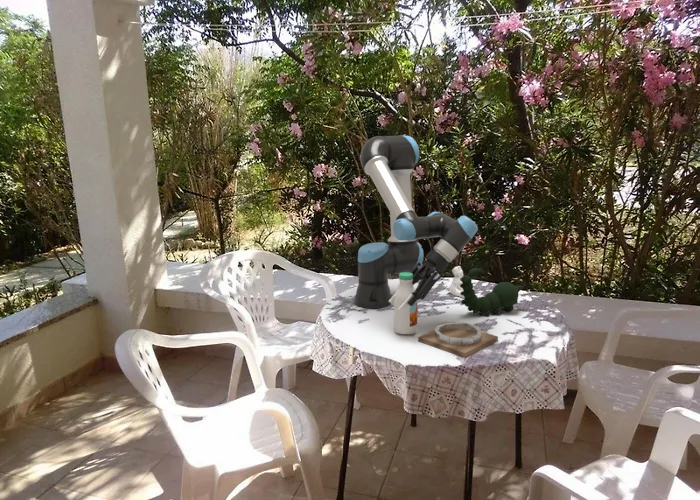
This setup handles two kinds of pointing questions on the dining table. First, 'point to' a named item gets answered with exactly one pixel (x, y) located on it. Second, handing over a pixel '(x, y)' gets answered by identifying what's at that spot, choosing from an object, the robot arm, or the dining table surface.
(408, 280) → the milk bottle
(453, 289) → the seated beast figurine
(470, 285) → the toy figurine
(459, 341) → the metal collar
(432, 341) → the plate
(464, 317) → the dining table surface
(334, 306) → the dining table surface
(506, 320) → the dining table surface
